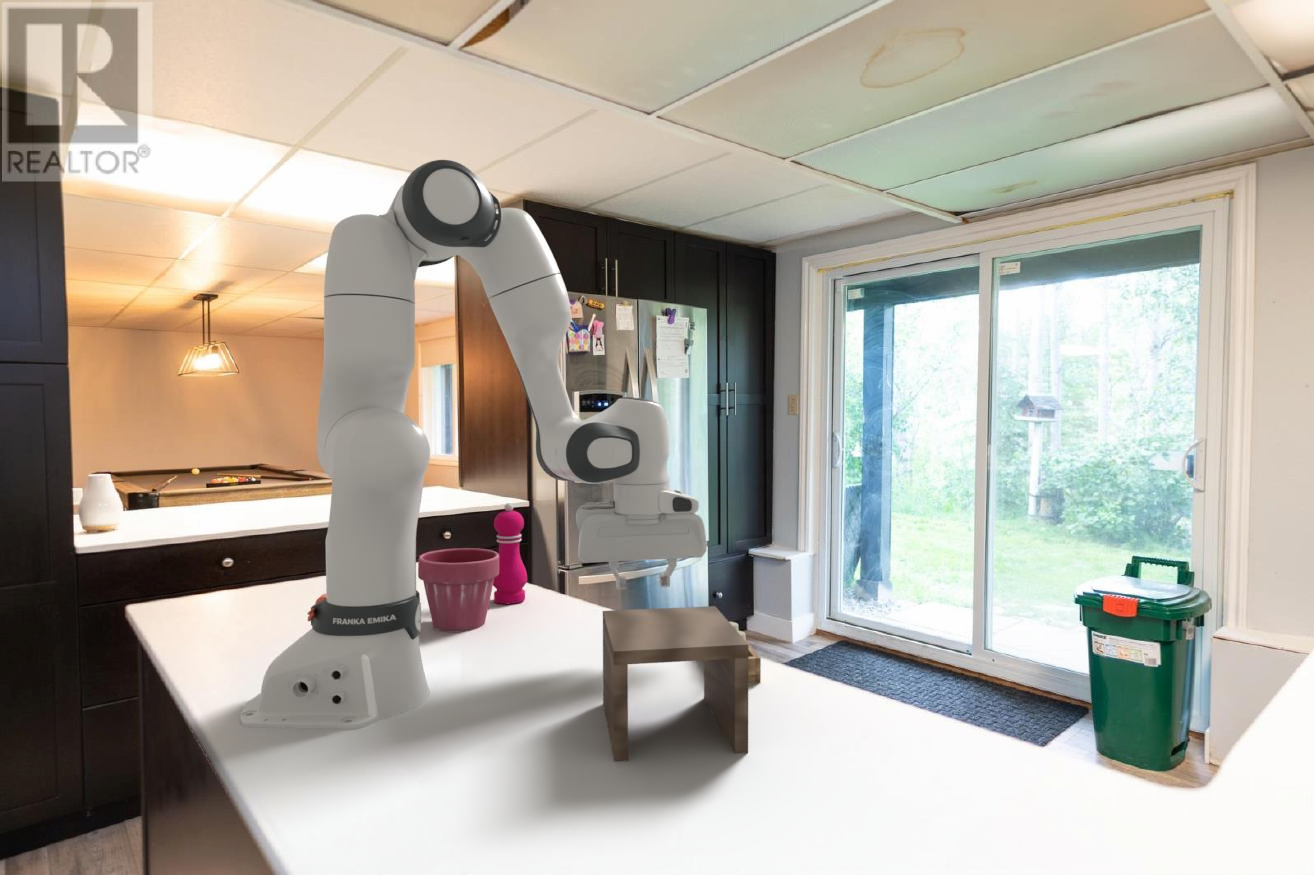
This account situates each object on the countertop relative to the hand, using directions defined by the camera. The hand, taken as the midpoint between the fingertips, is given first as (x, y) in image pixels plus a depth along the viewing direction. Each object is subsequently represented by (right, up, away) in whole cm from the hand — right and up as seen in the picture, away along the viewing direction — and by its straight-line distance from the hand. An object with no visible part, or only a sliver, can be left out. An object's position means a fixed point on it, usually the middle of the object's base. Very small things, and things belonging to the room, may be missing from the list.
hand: (643, 587), depth 113 cm
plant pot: (-34, -10, +16) cm, 39 cm away
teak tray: (+13, -11, -3) cm, 17 cm away
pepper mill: (-28, -10, +33) cm, 45 cm away
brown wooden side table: (+4, -12, -27) cm, 29 cm away
